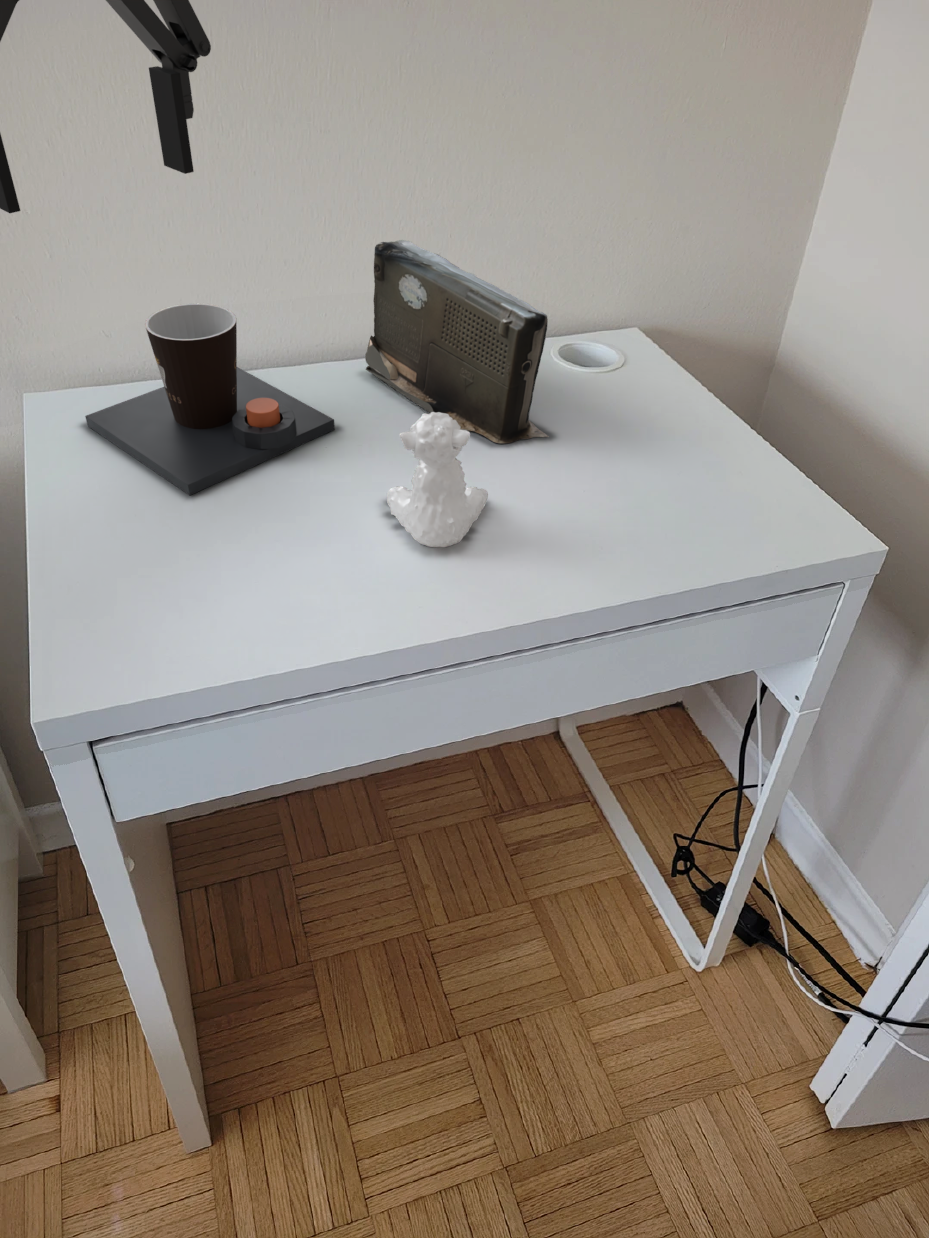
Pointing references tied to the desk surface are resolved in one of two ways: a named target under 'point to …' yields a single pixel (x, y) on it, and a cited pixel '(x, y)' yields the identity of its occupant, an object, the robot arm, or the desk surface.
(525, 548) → the desk surface
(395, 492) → the sitting furry creature
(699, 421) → the desk surface
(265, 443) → the scale
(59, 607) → the desk surface
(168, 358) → the coffee mug
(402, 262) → the radio
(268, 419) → the button
